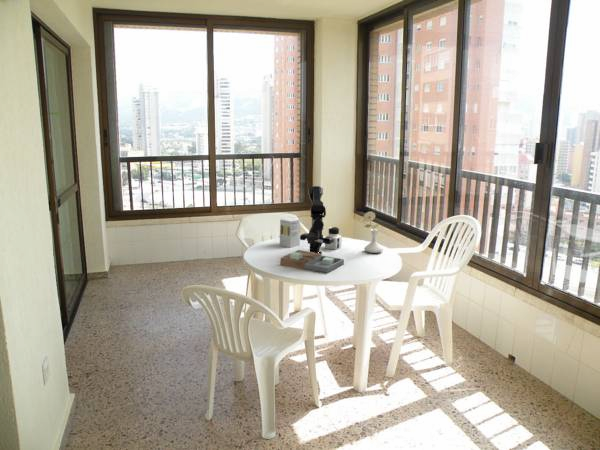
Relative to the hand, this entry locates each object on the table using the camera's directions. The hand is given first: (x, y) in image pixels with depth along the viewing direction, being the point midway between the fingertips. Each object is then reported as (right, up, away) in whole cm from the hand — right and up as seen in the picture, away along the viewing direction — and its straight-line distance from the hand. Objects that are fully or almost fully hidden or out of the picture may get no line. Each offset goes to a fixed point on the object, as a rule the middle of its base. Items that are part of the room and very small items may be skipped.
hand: (316, 253), depth 294 cm
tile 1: (-11, -2, -6) cm, 13 cm away
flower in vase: (+35, -1, +25) cm, 43 cm away
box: (+4, -7, -7) cm, 11 cm away
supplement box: (-16, +3, +37) cm, 41 cm away
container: (+11, +1, +33) cm, 34 cm away
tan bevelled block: (-8, -5, 0) cm, 10 cm away
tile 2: (+6, -3, -3) cm, 8 cm away
